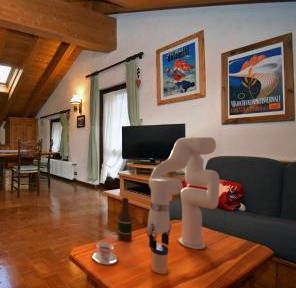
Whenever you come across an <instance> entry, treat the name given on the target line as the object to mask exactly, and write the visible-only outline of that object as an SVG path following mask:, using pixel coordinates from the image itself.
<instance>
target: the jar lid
mask: <svg viewBox="0 0 296 288" xmlns="http://www.w3.org/2000/svg"><path fill="white" fill-rule="evenodd" d="M151 251H152V252H153V253H155V254H158V255H167V254H169V247H168V245H166V244H163V243H159V242H157V249H156V250H155V249H153V248H151V247H150V252H151Z"/></svg>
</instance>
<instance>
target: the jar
mask: <svg viewBox="0 0 296 288" xmlns="http://www.w3.org/2000/svg"><path fill="white" fill-rule="evenodd" d="M168 254H169V253H168ZM168 254H167V255H158V254H155V253H153V252H152V251H151V250H150V269H151V270H152V271H153V272H155V273H157V274H160V275H164V274H167V273H168V258H169V257H168Z"/></svg>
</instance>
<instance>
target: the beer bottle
mask: <svg viewBox="0 0 296 288" xmlns="http://www.w3.org/2000/svg"><path fill="white" fill-rule="evenodd" d="M121 202H122V203H121V211H120V213H119V215H118V219H117V238H118V240H119V241H121V242H125V243H127V242H131V241H132V239H133V218H132V215H131V213H130V211H129V210H130V209H129V198H127V197H122V199H121Z"/></svg>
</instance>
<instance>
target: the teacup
mask: <svg viewBox="0 0 296 288" xmlns="http://www.w3.org/2000/svg"><path fill="white" fill-rule="evenodd" d="M114 248H115V246H114V244H112V243H111V242H107V241H99V242H97V243H96V244H94V249H95V250H96V251H95V252H94V253H92V257H91V258H92V260H93V261H94V262H96V263H97V264H101V265H108V266H109V265H114V264H116V263H117V261H118V256H117V255H116V254H114V253H113V252H112V251H113V249H114Z"/></svg>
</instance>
